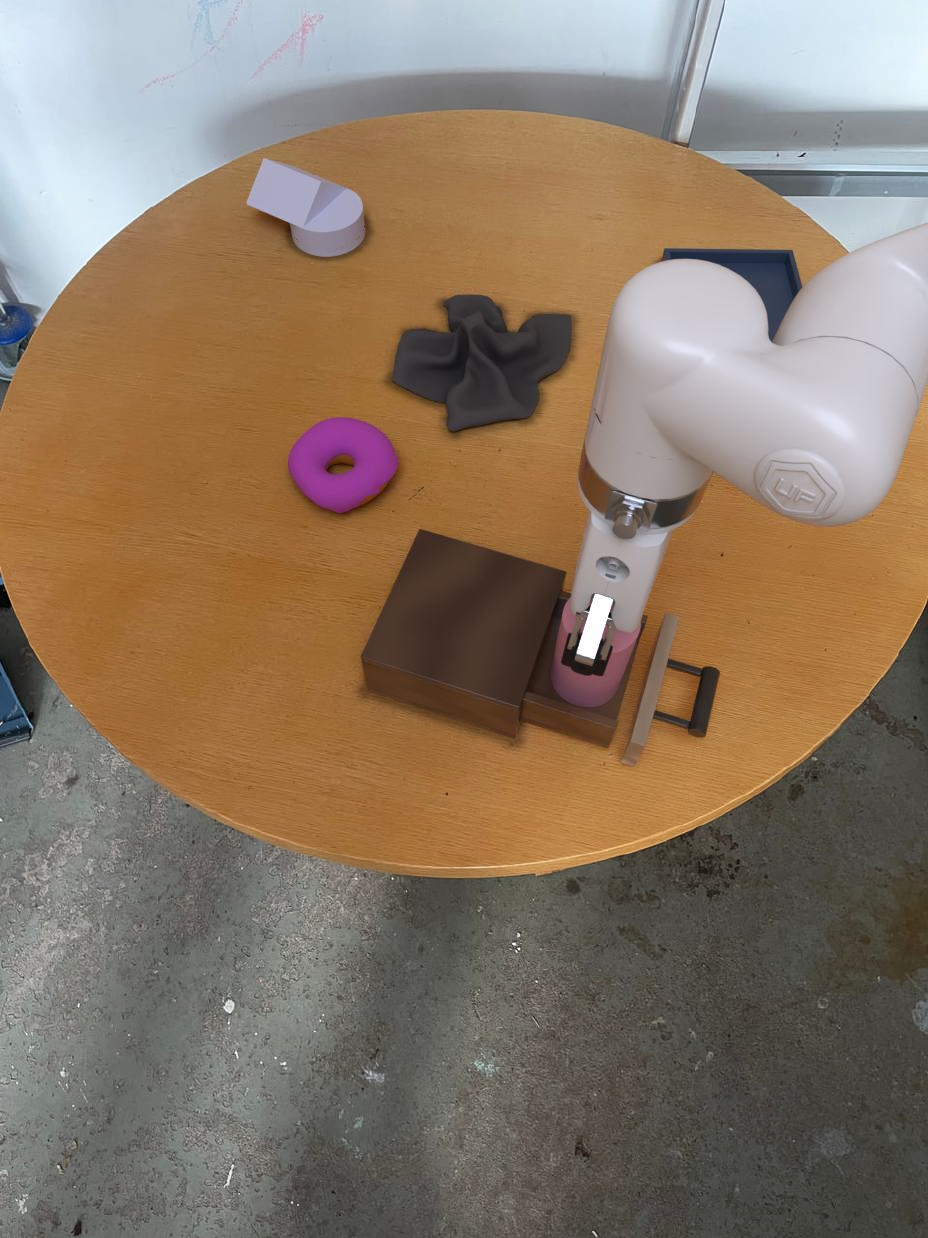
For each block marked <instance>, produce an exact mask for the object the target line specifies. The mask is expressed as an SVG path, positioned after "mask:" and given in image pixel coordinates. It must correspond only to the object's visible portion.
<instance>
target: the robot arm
mask: <svg viewBox="0 0 928 1238" xmlns="http://www.w3.org/2000/svg"><path fill="white" fill-rule="evenodd" d="M927 385H928V222H924V223H923V224H919V225H917V226H913V227H911V228H908V229H905V230H902V231H900V232H897V233H894V234H891V235H889V236H886V237H883V238H881V239H878V240H876V241H873V242H871V243H868V244H865V245H863V246H860V247H859V248H857V249H855V250H852V251H851V252H850V251H849V252H848V253H846V254H844V255H842V256H841V257H839V258H837V259H836V260H834V261H833V262H831V263H830V264H828V265H826V266H824V268H822V269H820V270H819V271H818V272H817V273H816V274H814V275H813V276H812V277H811V278H810V279H809V280H808V281H807V282H806V283H805V284H804V285H802V289H801V290H800V291H799V292H798V294H797V295H796V297H795V298H794V300H793V301H792V303H791V305H790V307H789V309H788V311H787V312H786V314H785V316H784V318H783V320H782V322H781V324H780V326H779V328H778V330H777V332H776V335H775V337H774V339H773V341H772V342H771V341H770V339H769V336H768V319H767V312H766V309H765V306H764V303H763V301H762V299H761V297H760V296H759V294H758V293H757V291H756V290H755V289H754V287H753V286H752V285H751V284H750V283H749V282H748V281H746V280H745V279H744V278H743V277H741V276H740V275H738V274H737V273H735V272H733V271H731V270H730V269H728V268H726V267H723V266H721V265H719V264H715V263H712V262H708V261H703V260H697V259H673V260H667V261H662V262H661V261H659V262H655V263H653V264H651V265H648V266H646V267H644V268H643V269H641V270H640V271H639V272H636V273H635V274H634V275H632V276H631V277H630V278H629V280H627V281H626V282H625V283H624V285H623V286H622V288H621V289H620V290H619V292H618V294H617V295H616V297H615V299H614V301H613V304H612V307H611V310H610V313H609V318H608V322H607V326H606V330H605V335H604V341H603V346H602V351H601V356H600V361H599V366H598V370H597V375H596V380H595V386H594V390H593V394H592V400H591V406H590V411H589V416H588V420H587V425H586V431H585V435H584V439H583V445H582V449H581V454H580V459H579V465H578V468H577V474H576V485H577V490H578V493H579V496H580V498H581V500H582V502H583V504H584V506H585V507H586V509H588V511H587V515H586V520H585V524H584V528H583V533H582V537H581V542H580V547H579V551H578V556H577V560H576V561H577V562H576V566H575V571H574V576H573V581H572V587H571V592H570V593H571V599H570V606H569V608H570V610H571V612H572V614H573V615H574V616H576V614H577V617H576V621H575V624H574V627H573V631H572V633H569V634H568V637H567V640H566V644H565V648H564V652H563V656H562V660H561V663H562V664H563V665H565V666H568V667H571V670H572V671H574V672H576V673H578V674H581V675H585V676H590V675H592V674H593V675H596V676H603V675H604V672H605V670H606V667H607V664H608V661H609V658H610V656H611V653H612V650H613V646H611V642H612V639H613V636H614V633H615V630H616V628H617V630H618V631H621V632H625V633H632V632H634V631H636V630H637V629H638V627H639V624H640V621H641V619H642V616H643V615H644V614H645V613H644V612H645V610H646V608H647V604H648V601H649V598H650V596H651V594H652V590H653V587H654V585H655V583H656V579H657V577H658V574H659V571H660V569H661V567H662V564H663V561H664V559H665V556H666V553H667V551H668V547H669V545H670V542H671V539H672V535H673V532H674V530H676V529H678V528H680V527H682V526H683V525H685V524H686V523H688V522H689V521H690V520H691V519H692V517H694V515H695V514H696V512H697V511H698V509H699V508H700V506H701V503H702V500H703V497H704V495H705V493H706V491H707V489H708V486H709V484H710V481H711V480H712V476H713V474H716V475H717V476H719V477H720V478H721V479H723V480H724V481H726V482H728V483H729V484H730V485H731V486H733V487H735V488H736V489H737V490H739V491H740V492H742V494H745V495H746V496H747V497H749V498H751V499H752V500H754V502H756V503H758V504H760V505H761V506H763V507H764V508H766V509H768V510H770V511H772V512H774V513H775V514H778V515H780V516H782V517H784V518H786V519H789V520H790V521H794V522H797V523H800V524H804V525H807V526H812V527H819V528H834V527H843V526H846V525H847V526H848V525H849V524H853V523H856V522H858V521H860V520H862V519H864V518H865V517H867V516H868V515H870V514H871V513H873V512H874V511H875V510H877V508H878V507H879V506H880V505H881V503H882V502H883V501H884V499H885V498H886V496H887V495H888V493H889V492H890V490H891V488H892V486H893V484H894V482H895V480H896V477H897V475H898V472H899V469H900V466H901V464H902V461H903V459H904V455H905V452H906V448H907V445H908V442H909V439H910V436H911V433H912V430H913V427H914V424H915V421H916V419H917V416H918V413H919V411H920V408H921V404H922V402H923V398H924V394H925V392H926V388H927ZM592 598H594V599H593V602H592V605H591V606H589V603H591V601H592ZM612 604H613V607H612V610H613V611H612V613H611V612H609V611H610V608H611V605H612ZM584 619H587V621H586V624H585V628H584V631H583V633H582V632H581V634H580V631H581V628H582V625H583V621H584ZM605 625H607V626H608V629H607V632H606V635H605V639H604V642H603V639H601V637H602V634H603V631H604V627H605Z"/></svg>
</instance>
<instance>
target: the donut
mask: <svg viewBox="0 0 928 1238" xmlns="http://www.w3.org/2000/svg"><path fill="white" fill-rule="evenodd" d="M338 464H346V465H350V466H353V467H352V468H351V469H350V470H349V471H346V472H342V473H339V474H337V473H336V474H335V473H334V474H333V473H331V472H328V471H327V470H328V469H329V468H330V467H332V466H333V465H338ZM399 464H400V462H399V456H398V455H397V452H396V450H395V447H394V445H393V444H392V442H391V440H390V438H389V437H388V436H387V435H386V434H385V433H384V431H382V430H381V429H380V428H378V427H376V426H375V425H373V424H371V423H369V422H367V421H365V420H361V419H357V418H353V417H346V416H345V417H344V416H338V417H337V416H335V417H330V418H326V419H323V420H321V421H319V422H317V423H315V424H314V425H312V426H311V427H309V428H308V429H307V430H306V431H305V432H304V433H303V434H302V435H301V436H300V437H299V438H297V440H296V441H295V443H294V444H293V445H292V448H291V449H290V451H289V454H288V457H287V469H288V472H289V475H290V476H291V478H292V480H293V482H294V483H295V484H296V486H297V487H298V489H299V490H300V491H301V492H302V493H303V495H304V496H306V497H307V498H308V499H309V500H311V501H312V502H313V503H314V504H315V505H317V506H319V507H321V508H322V509H326V510H329V511H333V512H335V513H337V514H343V513H346V512H348V511H350V510H354V509H356V508H359V507H361V506H363V505H366V503H368V502H370V501H372V500H374V498H376V497H378V495H380V494H381V493H382V492H383V491H384V489H385V488H386V487H387V486H388V484H389V482H390V481H391V480H392V478H393V476H394V475H395V473H396V471H397V469H398V466H399Z"/></svg>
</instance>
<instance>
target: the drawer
mask: <svg viewBox="0 0 928 1238" xmlns="http://www.w3.org/2000/svg"><path fill="white" fill-rule="evenodd" d="M571 593H572V592H569V591H565V590H563V591H562V590H561V592H560V594H559V597H558V600H557V603H556V606H555V609H554V612H553V615H552V618H551V620H550V623H549V626H548V629H547V632H546V635H545V638H544V641H543V644H542V646H541V649H540V652H539V655H538V658H537V661H536V664H535V667H534V670H533V672H532V675H531V678H530V681H529V684H528V687H527V690H526V693H525V696H524V698H523V701H522V705H521V711H520V718H519V720H521V722H525V723H528V724H531V725H534V726H537V727H541V728H544V729H546V730H549V731H553V732H556V733H559V734H562V735H565V736H568V737H572V738H574V739H576V740H580V741H584V742H587V743H589V744H593V745H595V746H599V747H602V748H604V749H605V748H606V749H609V748H610V745H611V744H612V741H613V738H614V736H615V733H616V731H617V727H618V725H619V720H618V716H619V714H620V711H621V707H622V703H623V700H624V696H625V693H626V689H627V687H628V686H627V685H628V682H629V679H630V675H631V671H632V668H633V665H634V660H635V657H636V653H637V650H638V648H639V647H638V646H639V644H640V640H641V638H642V636H643V632H644V631H645V627H646V625H647V622H648V619H649V616H648V615H647V614H643V616H642V619H641V628H640V632H639V635H638V637H637V640H636V643H635V645H634V648H633V650H632V653H631V656H630V658H629V661H628V664H627V666H626V669H625V672H624V674H623V677H622V680H621V682H620V685H619V688H618V690H617V692H616V694H615V695H614V696H613V697H612V698H611V699H610V700H609V701H608V702H606V703H604V704H602V705H600V706H596V707H579V706H575V705H573V704H571V703H569V702H567V701H566V700H564V699H563V698H562V697H561V696H560V695H559V694H558V693H557V692H556V690H555V689H554V687H553V684H552V681H551V666H552V661H553V657H554V652H555V647H556V642H557V637H558V633H559V628H560V623H561V618H562V613H563V609H564V606H565V604H566V602H567V601H568V599H569V598H570V597H571ZM663 615H664V616H663V617H662V620H661V623H660V626H659V627H658V630H657V632H656V635H655V637H654V638H653V639H654V640H653V644H652V646H651V651H650V654H649V658H648V662H647V665H646V669H645V672H644V676H643V680H642V682H641V687H640V691H639V694H638V697H637V702H636V705H635V708H634V712H633V716H632V720H631V723H630V726H629V731H628V734H627V738H626V741H625V746H624V749H623V752H622V756H621V759H620V763H621V764H623V765H627V766H630V767H633V768H635V767H636V765H637V764H638V761H639V760H640V758H641V755H642V754H643V751H644V750H645V748H646V746H647V741H648V737H649V734H650V730H651V727H652V722H653V720H656V721H659V722H661V723H666V724H668V725H671V726H675V727H677V728H680V729H683V730H686V733H687V734H688V735H689V736H692V737H693V738H696V739H697V738H698V739H702V738H703V739H704V738H705V737H706V736H707V733H708V728H709V724H710V720H711V719H710V718H711V715H712V710H713V707H714V703H715V697H716V694H717V690H718V685H719V679H720V676H721V670H719V669H718V668H717V667H715V666H711V665H707V666H703V667H702V668H701V667H698V666H695V665H693V664H689V663H685V662H681V661H678V660H675V659H672V658H670V655H671V650H672V647H673V643H674V638H675V634H676V632H677V627H678V624H679V620H680V616H679V615H676V614H673V613H672V614H671V613H668V612H665V613H664V614H663ZM666 669H671V670H674V671H678V672H680V673H683V674H687V675H690V676H694V677H696V678H699V680H698V685H697V687H696V692H695V697H694V700H693V705H692V709H691V714H690V717H689V719H685V718H683V717H679V716H676V715H672V714H670V713H666V712H663V711H660V710H657V709H656V707H657V703H658V700H659V696H660V695H659V694H660V693H661V688H662V685H663V681H664V677H665V674H666V673H665V672H666Z"/></svg>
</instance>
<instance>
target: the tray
mask: <svg viewBox="0 0 928 1238" xmlns="http://www.w3.org/2000/svg"><path fill="white" fill-rule="evenodd" d="M661 256H662V257H661V260H660V262H662V261H667V260H673V259H697V260H703V261H708V262H712V263H715V264H719V265H721V266H723V267H726V268H728V269H730V270H731V271H733V272H735V273H737V274H738V275H740V276H741V277H743V278H744V279H745V280H746V281H748V282H749V283H750V284H751V285H752V286H753V287H754V289H755V290H756V291H757V293H758V294H759V296H760V297H761V299H762V301H763V303H764V306H765V309H766V312H767V319H768V336H769V339H770V341H771V342H772V341H773V339H774V337H775V335H776V332H777V330H778V328H779V326H780V324H781V322H782V320H783V318H784V316H785V314H786V312H787V311H788V309H789V307H790V305H791V303H792V301H793V300H794V298H795V297H796V295H797V294H798V292H799V291H800V290H801V289H802V287H803V284H802V280H801V275H800V272H799V268H798V265H797V261H796V257H795V254H794V250H793V249H765V248H763V249H762V248H761V249H759V248H758V249H757V248H755V249H754V248H681V247H680V248H677V247H675V248H674V247H671V248H670V247H665V248H664V249H663V252H662V255H661Z"/></svg>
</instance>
